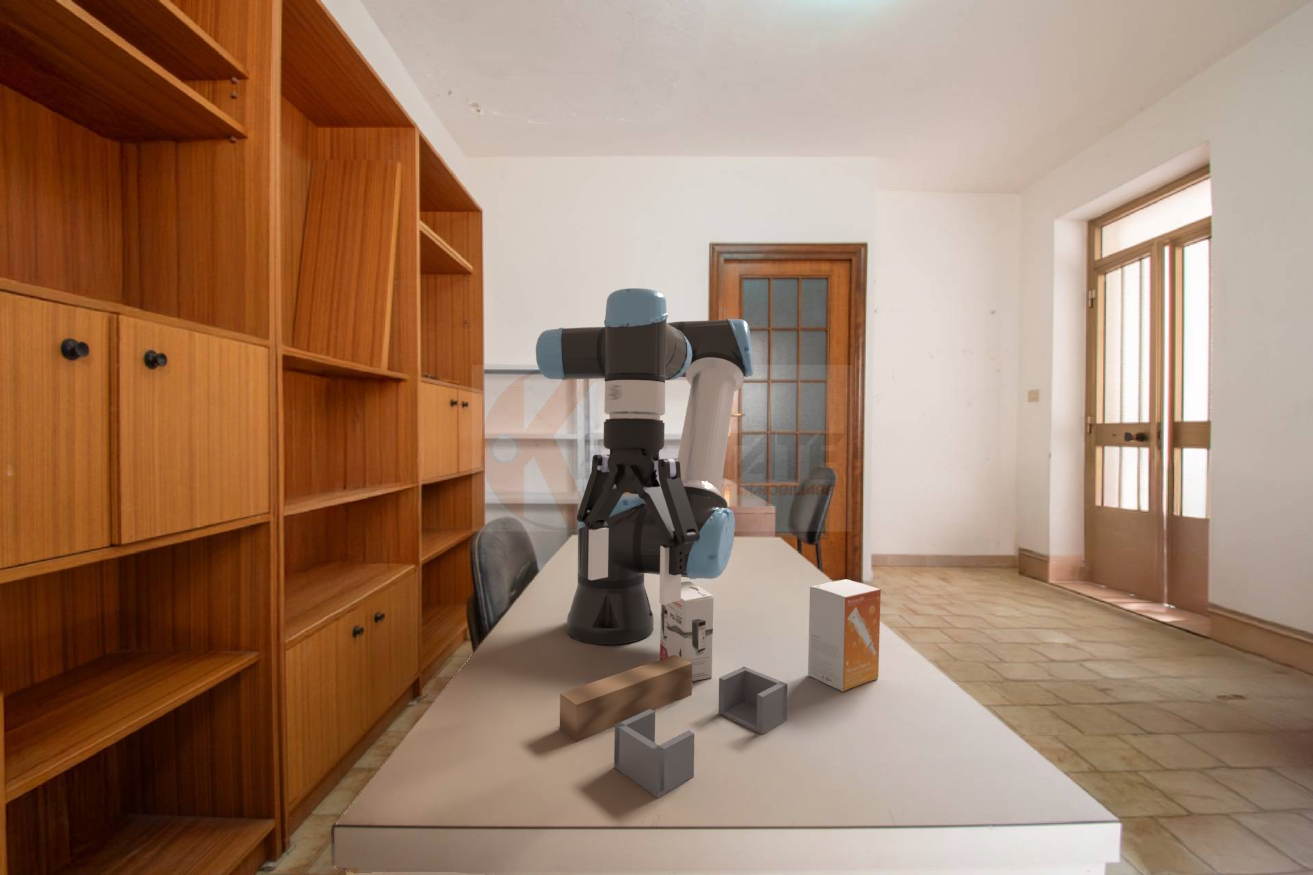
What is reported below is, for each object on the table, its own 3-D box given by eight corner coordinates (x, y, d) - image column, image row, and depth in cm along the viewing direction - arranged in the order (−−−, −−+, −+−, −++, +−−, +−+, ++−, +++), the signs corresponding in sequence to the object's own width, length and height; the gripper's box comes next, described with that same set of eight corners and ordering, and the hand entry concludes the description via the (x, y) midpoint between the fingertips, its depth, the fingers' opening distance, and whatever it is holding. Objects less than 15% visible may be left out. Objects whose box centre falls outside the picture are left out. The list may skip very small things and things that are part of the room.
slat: (575, 744, 62) (576, 704, 62) (559, 731, 65) (560, 693, 65) (691, 696, 74) (692, 663, 74) (673, 687, 77) (674, 654, 77)
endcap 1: (614, 766, 58) (614, 724, 58) (649, 748, 61) (650, 708, 61) (657, 797, 53) (658, 752, 53) (693, 776, 56) (694, 733, 56)
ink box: (657, 660, 85) (659, 583, 85) (686, 655, 87) (687, 580, 87) (682, 684, 77) (684, 599, 77) (713, 678, 79) (715, 595, 79)
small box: (843, 693, 75) (845, 596, 75) (806, 675, 80) (808, 585, 80) (880, 679, 80) (882, 588, 79) (843, 663, 85) (844, 577, 85)
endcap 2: (718, 712, 69) (719, 677, 69) (743, 700, 73) (744, 666, 73) (762, 734, 64) (762, 696, 64) (786, 719, 68) (787, 683, 68)
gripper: (552, 417, 76) (550, 574, 76) (686, 415, 57) (683, 621, 57) (597, 419, 81) (594, 565, 81) (732, 417, 63) (729, 606, 63)
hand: (631, 589), depth 69 cm, fingers open, 13 cm apart
